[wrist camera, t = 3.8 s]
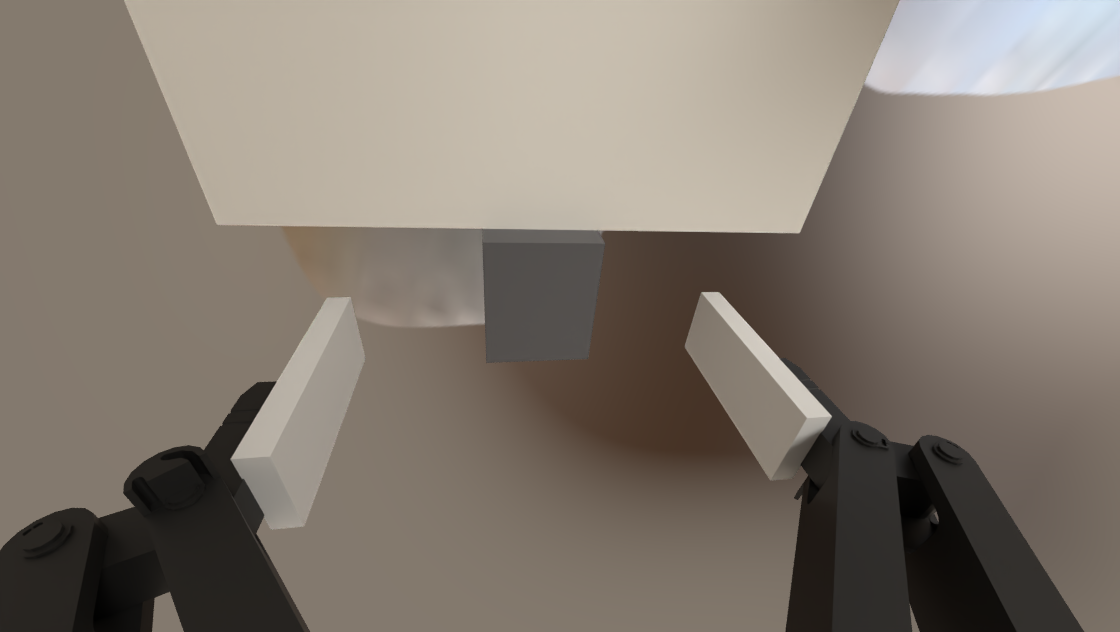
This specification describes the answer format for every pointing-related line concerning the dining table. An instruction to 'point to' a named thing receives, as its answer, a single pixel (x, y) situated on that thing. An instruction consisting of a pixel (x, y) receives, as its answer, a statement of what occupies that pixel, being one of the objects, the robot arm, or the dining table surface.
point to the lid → (514, 125)
